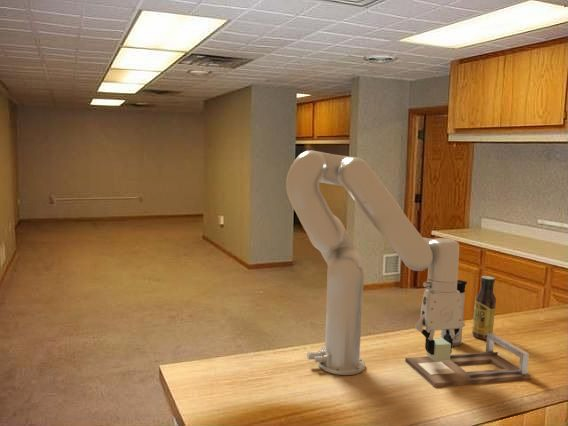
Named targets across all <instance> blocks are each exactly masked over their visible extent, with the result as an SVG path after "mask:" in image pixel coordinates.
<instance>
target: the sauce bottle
mask: <svg viewBox="0 0 568 426" xmlns="http://www.w3.org/2000/svg"><path fill="white" fill-rule="evenodd" d="M495 282H496V279H495V277H494V276H488V275H482V276H481V278H480V283H481V284H480V289H479V291H478V294H477V295H476V298H475V300H474V309H473V316H472V317H473V318H472V327H471V330H472V333H471V335H472V336H473V337H475V338H477V339H479V340H487V333H494V323H495V315H496V302H497V298H496V296H495V293H494V285H495Z"/></svg>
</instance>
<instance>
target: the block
mask: <svg viewBox="0 0 568 426" xmlns="http://www.w3.org/2000/svg"><path fill="white" fill-rule="evenodd" d="M433 340H434V341H435V344H434V355H431V354H430V353H428V352H427V351H426V356H429V357H430V358H432V359H433V360H434V361H444V360H450V355H452V351H451V344H450V343H449V342H447V341H446V340H444V339H443V338H440V337H438V338H433Z"/></svg>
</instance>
